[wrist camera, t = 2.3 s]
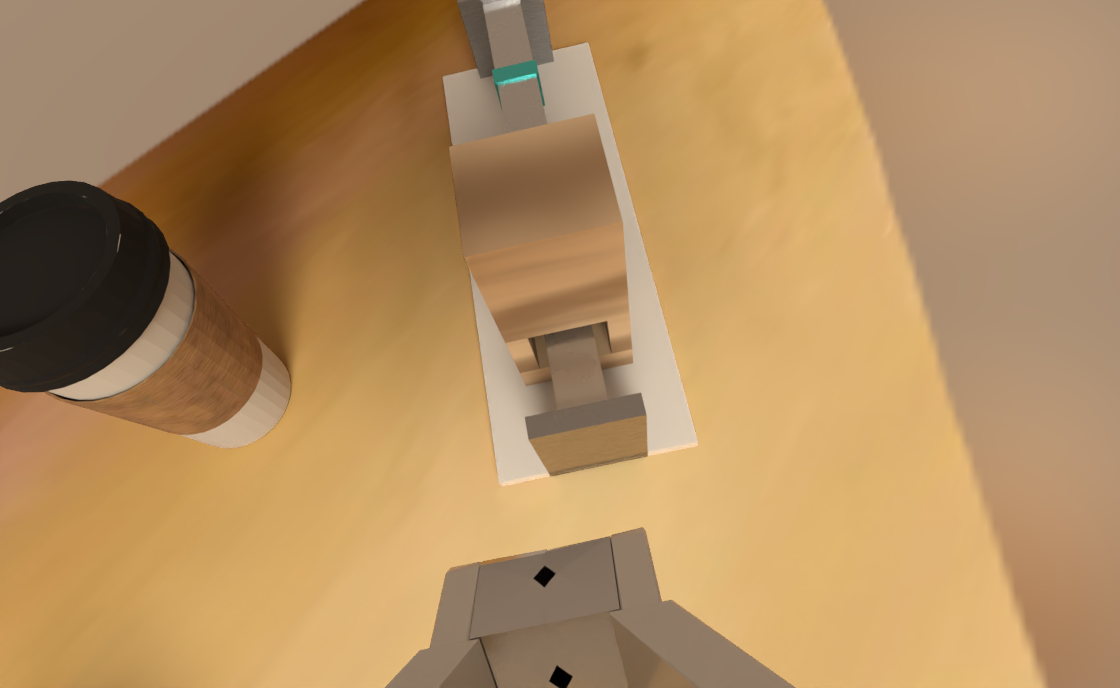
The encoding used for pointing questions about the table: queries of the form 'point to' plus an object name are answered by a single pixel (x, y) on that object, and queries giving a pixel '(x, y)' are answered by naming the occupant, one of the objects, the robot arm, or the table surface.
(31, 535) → the table surface
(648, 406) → the board
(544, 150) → the wooden slider block
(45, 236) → the coffee cup
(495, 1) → the sliding carriage track
